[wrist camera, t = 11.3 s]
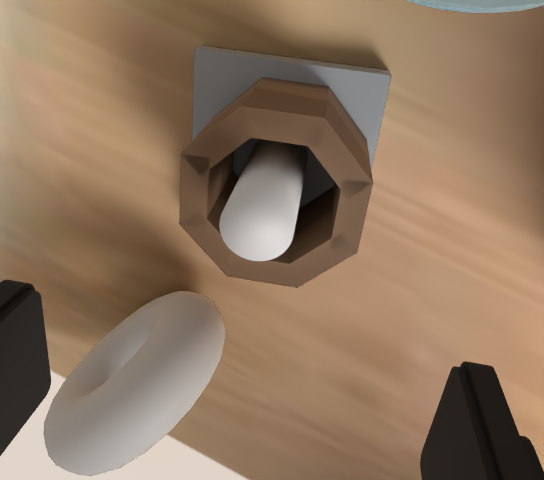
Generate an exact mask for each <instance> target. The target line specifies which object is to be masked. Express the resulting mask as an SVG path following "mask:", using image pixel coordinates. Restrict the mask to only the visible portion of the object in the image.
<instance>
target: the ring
mask: <svg viewBox="0 0 544 480" xmlns="http://www.w3.org/2000/svg"><path fill="white" fill-rule="evenodd" d="M250 138H257V139H263V140H270V141H277V142H284V143H290V144H297V145H304V146H308V147H309V148H310V150H311V151H312V152H313V154H314V155H315V156H316V158H317V159H318V160H319V161H320V163H321V164H322V165H323V167H324V168H325V169H326V171H327V172H328V173H329V175H330V176H331V177H332V179H333V180H334V181H335V183H334V186H333V187H332V188H330V189H329V190H327V191H325V192H324V193H322V194H321V195H319V196H318V197H316V198H315V199H313V200H312V201H310V202H309V203H307V204H306V205H304V206H303V207H301V208H299V209H298V214H297V220H296V225H295V230H294V236H293V239H292V242H291V244H290V246H289V247H288V249H287V250H286V251H285V252H284V253H283V254H281V255H280V256H278V257H276V258H274V259H271V260H268V261H252V260H248V259H245V258H242V257H240V256H238V255H237V254H235V253H234V252H233V251H231V250H230V249H229V248H228V246H227V245H226V244H225V242H224V241H223V239H222V236H221V233H220V228H219V222H220V217H221V214H222V212H223V210H224V208H225V206H226V204H227V202H228V200H229V198H230V196H231V194H232V192H233V190H234V188H235V186H236V184H237V182H238V180H239V177H238V176H237V175H236V174H235V172H234V171H233V163H234V150H235V149H237V148H238V147H239V146H241V145H242V144H243V143H244V142H246V141H247V140H248V139H250ZM372 185H373V180H372V173H371V166H370V159H369V151H368V144H367V139H366V137H365V136H364V135H363V133H362V132H361V130H360V129H359V128H358V126H357V125H356V123H355V122H354V121H353V119H352V118H351V116H350V115H349V114H348V112H347V111H346V109H345V108H344V107H343V105H342V104H341V102H340V101H339V99H338V98H337V97H336V95H335V94H334V92H333V91H332V90H331V88H330V87H329V86H324V85H317V84H310V83H303V82H295V81H288V80H281V79H274V78H267V77H262V78H261V79H260V80H258V81H257V82H256V83H255V84H254V85H252V86H251V87H250V88H249V89H247V90H246V91H245V92H244V93H242V94H241V95H240V96H239V97H238V98H236V99H235V100H234V101H233V102H231V103H230V104H229V105H228V106H227V107H225V108H224V109H223V110H222V111H220V112H219V113H218V114H217V115H215V116H214V117H213V118H212V120H211V121H210V122H209V123H208V124H207V125H206V126H205V127H204V129H203V130H202V131H201V132H200V133H199V134H198V135H197V136H196V138H195V139H194V140H193V141H192V142H191V143H190V144H189V145H188V147H187V148H186V149H185V150H184V151H183V152H182V153H181V179H180V220H179V224H180V225H181V227H182V228H183V229H184V230H185V231H186V232H187V233H188V234H189V235H190V236H191V237H192V239H193V240H194V241H195V242H196V243H197V244H198V245H199V246H200V247H201V248H202V249H203V250H204V252H205V253H206V254H207V255H208V256H209V257H210V258H211V259H212V260H213V261H214V262H215V264H216V265H217V266H218V267H219V268H220V269H221V270H222V271H223V272H224V273H225V274H226V276H229V277H235V278H241V279H247V280H253V281H259V282H265V283H271V284H277V285H283V286H289V287H296V288H298V287H299V286H301V285H303V284H304V283H306V282H308V281H309V280H311V279H313V278H315V277H316V276H318V275H320V274H321V273H323V272H325V271H327V270H328V269H330V268H332V267H333V266H335V265H337V264H339V263H340V262H342V261H344V260H345V259H347V258H349V257H351V256H352V255H354V254H356V253H357V251H358V246H359V242H360V238H361V233H362V229H363V224H364V220H365V216H366V211H367V207H368V202H369V198H370V194H371V189H372Z"/></svg>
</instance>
